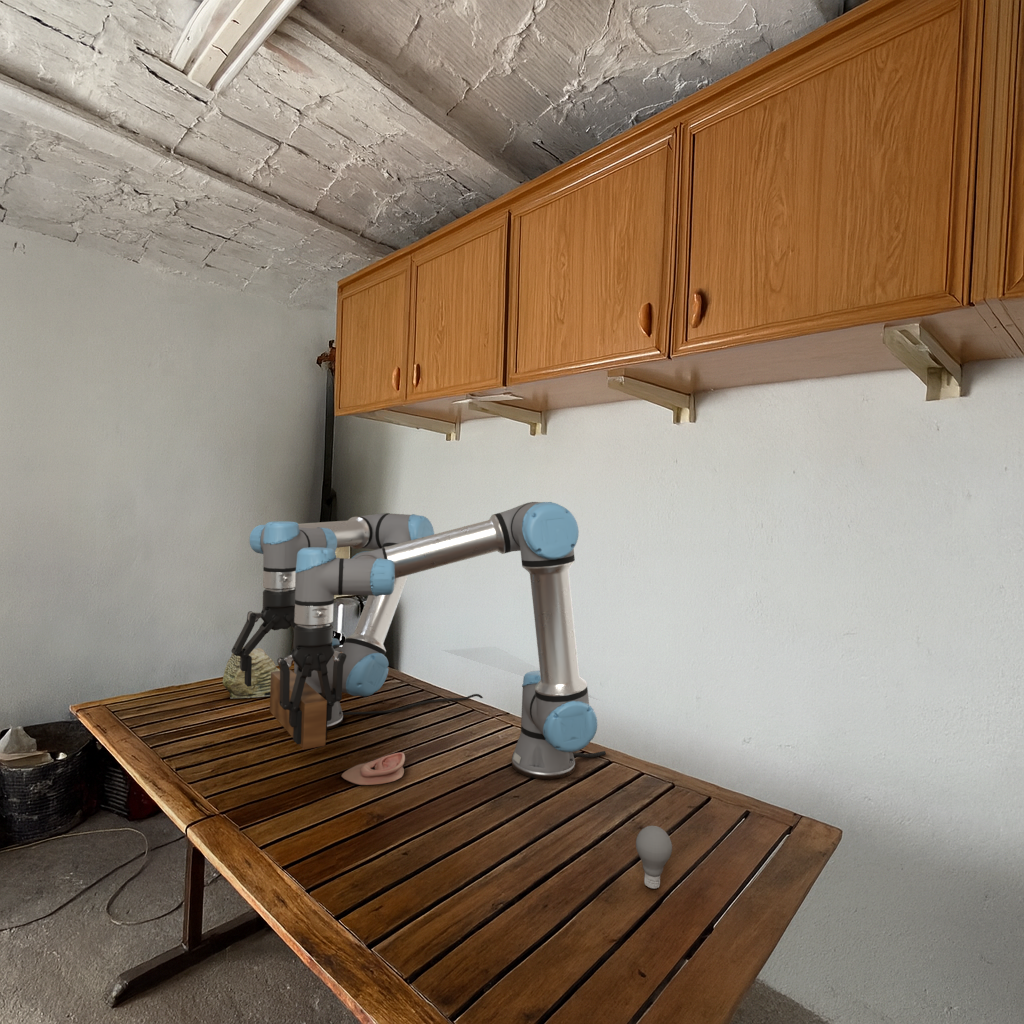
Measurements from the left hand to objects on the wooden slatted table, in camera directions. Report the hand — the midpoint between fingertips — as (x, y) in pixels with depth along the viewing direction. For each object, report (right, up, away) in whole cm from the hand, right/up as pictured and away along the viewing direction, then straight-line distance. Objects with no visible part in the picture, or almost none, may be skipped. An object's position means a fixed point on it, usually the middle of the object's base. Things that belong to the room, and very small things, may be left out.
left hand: (278, 680), depth 146 cm
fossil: (-27, -18, +52) cm, 61 cm away
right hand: (+13, -7, -18) cm, 24 cm away
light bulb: (+78, -25, -39) cm, 90 cm away
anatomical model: (+22, -22, -1) cm, 31 cm away
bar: (+8, -7, -10) cm, 15 cm away
